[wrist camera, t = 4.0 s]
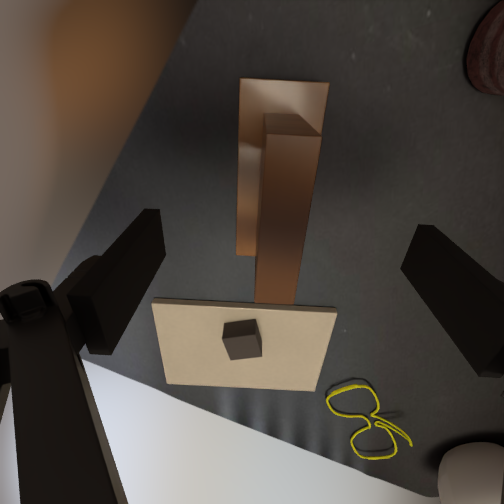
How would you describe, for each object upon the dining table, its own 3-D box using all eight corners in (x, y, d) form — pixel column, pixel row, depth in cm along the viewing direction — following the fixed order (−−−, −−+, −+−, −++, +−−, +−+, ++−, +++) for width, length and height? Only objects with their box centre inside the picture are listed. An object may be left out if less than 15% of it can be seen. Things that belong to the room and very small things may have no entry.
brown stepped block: (296, 240, 29) (316, 328, 19) (238, 236, 29) (226, 324, 19) (320, 81, 21) (375, 85, 11) (242, 77, 21) (226, 76, 11)
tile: (168, 377, 42) (166, 383, 41) (153, 297, 33) (151, 303, 33) (313, 385, 42) (314, 391, 41) (335, 307, 34) (337, 313, 33)
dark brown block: (231, 344, 36) (230, 360, 34) (223, 322, 34) (221, 339, 32) (262, 340, 36) (262, 357, 33) (255, 318, 33) (255, 334, 31)
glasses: (317, 385, 42) (324, 418, 38) (384, 369, 40) (398, 402, 36) (358, 455, 54) (366, 486, 50) (411, 446, 51) (424, 477, 47)
